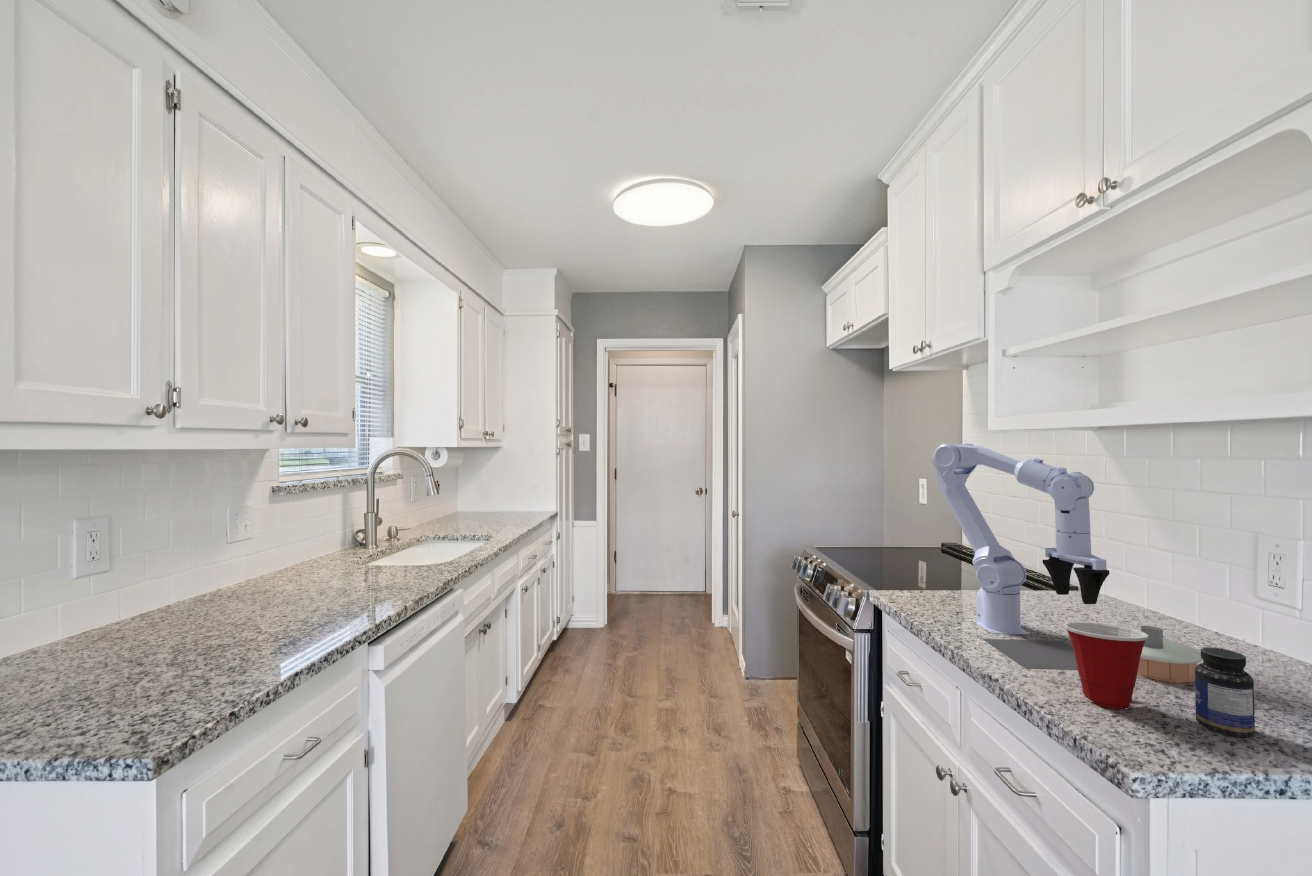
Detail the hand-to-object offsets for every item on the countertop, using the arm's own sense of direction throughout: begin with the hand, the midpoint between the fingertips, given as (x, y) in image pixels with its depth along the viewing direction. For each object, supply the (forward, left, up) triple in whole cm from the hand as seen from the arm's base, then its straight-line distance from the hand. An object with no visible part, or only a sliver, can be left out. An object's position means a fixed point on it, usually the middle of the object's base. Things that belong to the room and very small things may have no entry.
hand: (1075, 599), depth 114 cm
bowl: (+11, +7, -10) cm, 16 cm away
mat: (+4, -8, -10) cm, 14 cm away
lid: (+11, +6, -6) cm, 14 cm away
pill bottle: (+32, +1, -11) cm, 33 cm away
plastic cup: (+24, -10, -11) cm, 28 cm away
